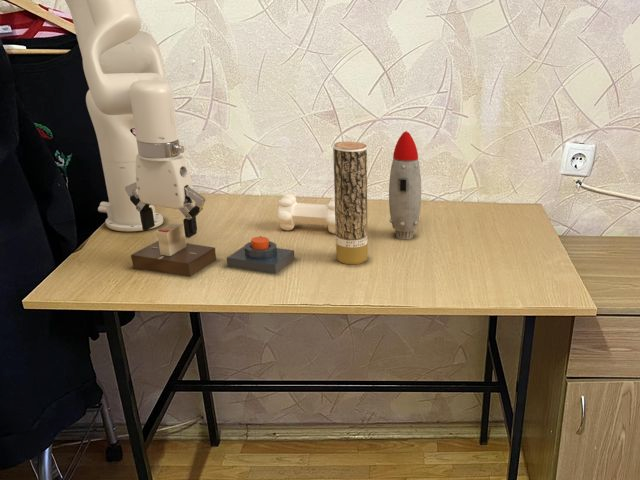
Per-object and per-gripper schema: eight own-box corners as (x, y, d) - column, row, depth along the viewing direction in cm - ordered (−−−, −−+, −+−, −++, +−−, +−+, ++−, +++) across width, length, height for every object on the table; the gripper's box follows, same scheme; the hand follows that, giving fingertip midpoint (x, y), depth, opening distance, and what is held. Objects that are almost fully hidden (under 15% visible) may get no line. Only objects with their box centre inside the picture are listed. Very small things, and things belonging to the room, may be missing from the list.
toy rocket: (386, 241, 170) (386, 133, 158) (391, 230, 177) (391, 126, 165) (418, 243, 170) (420, 136, 158) (421, 232, 177) (424, 128, 165)
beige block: (177, 245, 152) (173, 221, 149) (186, 246, 151) (183, 222, 149) (160, 254, 146) (156, 230, 144) (170, 256, 146) (166, 231, 143)
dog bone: (346, 226, 178) (346, 194, 174) (339, 238, 170) (339, 204, 166) (286, 222, 178) (284, 190, 174) (277, 233, 170) (274, 200, 166)
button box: (227, 267, 150) (225, 249, 149) (248, 253, 158) (247, 235, 156) (275, 274, 149) (274, 256, 147) (294, 259, 156) (293, 242, 154)
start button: (248, 249, 150) (247, 241, 150) (256, 243, 154) (256, 235, 153) (264, 251, 150) (263, 243, 149) (272, 245, 153) (271, 237, 152)
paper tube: (372, 257, 160) (372, 144, 148) (359, 267, 154) (357, 150, 143) (345, 252, 162) (342, 140, 150) (330, 262, 156) (327, 146, 144)
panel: (132, 268, 147) (130, 254, 145) (162, 252, 156) (160, 238, 154) (189, 277, 145) (187, 263, 143) (216, 260, 153) (215, 246, 152)
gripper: (209, 150, 141) (217, 232, 149) (131, 138, 144) (143, 219, 152) (188, 159, 134) (197, 244, 143) (106, 146, 137) (120, 231, 146)
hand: (169, 231), depth 147 cm, fingers open, 9 cm apart
